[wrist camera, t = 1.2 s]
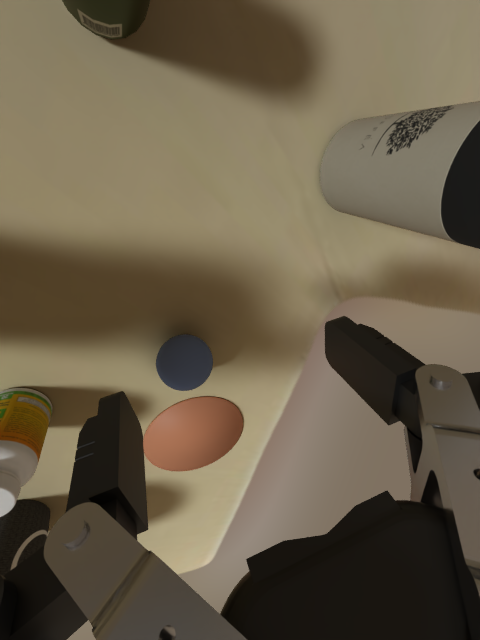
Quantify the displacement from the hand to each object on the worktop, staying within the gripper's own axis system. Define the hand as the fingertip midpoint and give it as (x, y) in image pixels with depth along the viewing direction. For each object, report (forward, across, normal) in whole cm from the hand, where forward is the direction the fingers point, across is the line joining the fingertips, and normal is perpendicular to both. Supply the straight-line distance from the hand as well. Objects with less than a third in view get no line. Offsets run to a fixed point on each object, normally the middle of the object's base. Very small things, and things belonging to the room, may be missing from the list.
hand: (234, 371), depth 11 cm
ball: (+15, +2, +10) cm, 19 cm away
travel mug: (+18, -19, -3) cm, 27 cm away
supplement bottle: (+18, +18, +11) cm, 28 cm away
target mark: (+18, +4, +24) cm, 31 cm away
